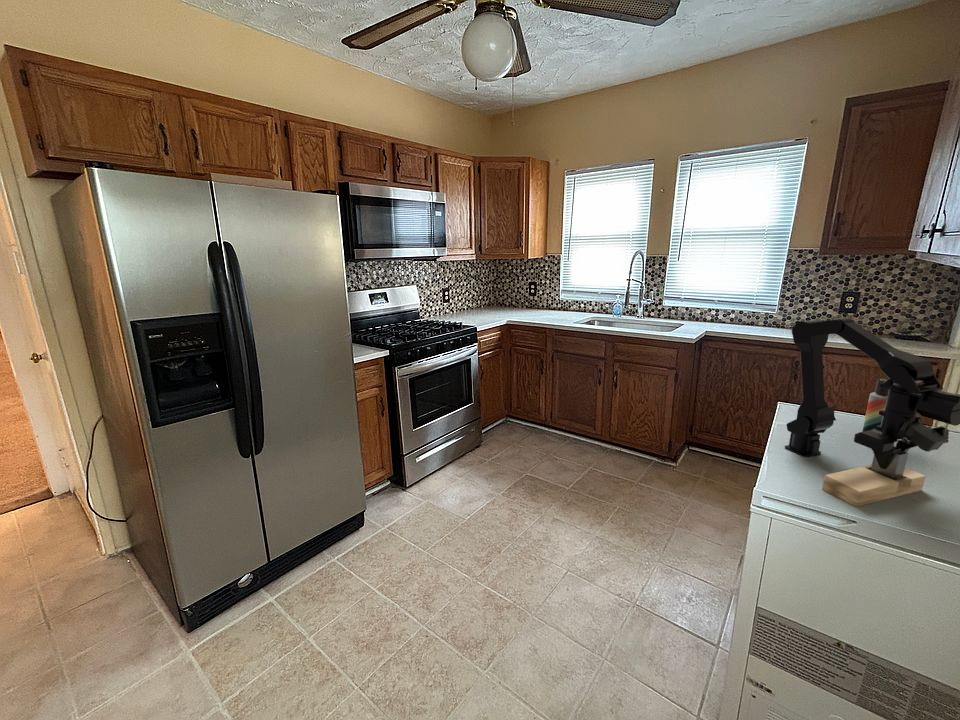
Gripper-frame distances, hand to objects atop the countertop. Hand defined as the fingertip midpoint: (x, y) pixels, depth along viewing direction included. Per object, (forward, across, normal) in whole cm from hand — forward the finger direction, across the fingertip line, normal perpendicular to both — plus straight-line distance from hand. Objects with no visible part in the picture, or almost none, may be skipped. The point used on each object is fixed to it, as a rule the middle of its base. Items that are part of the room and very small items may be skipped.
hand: (887, 467), depth 106 cm
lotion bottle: (+6, +26, +19) cm, 33 cm away
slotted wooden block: (+6, -4, 0) cm, 7 cm away
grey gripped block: (+3, 0, 0) cm, 3 cm away
